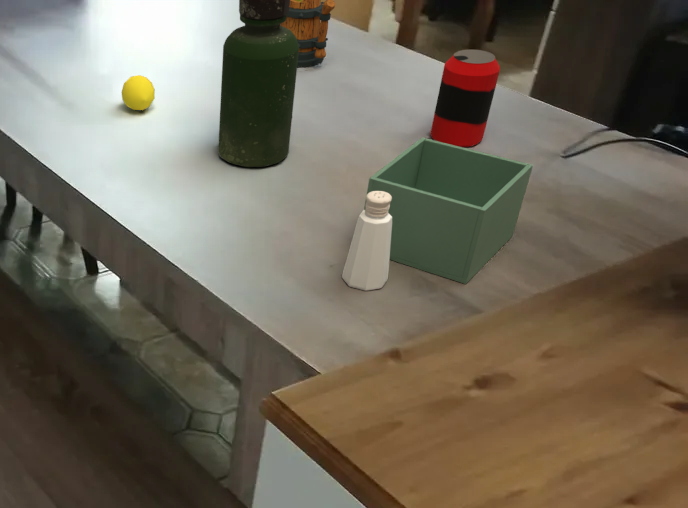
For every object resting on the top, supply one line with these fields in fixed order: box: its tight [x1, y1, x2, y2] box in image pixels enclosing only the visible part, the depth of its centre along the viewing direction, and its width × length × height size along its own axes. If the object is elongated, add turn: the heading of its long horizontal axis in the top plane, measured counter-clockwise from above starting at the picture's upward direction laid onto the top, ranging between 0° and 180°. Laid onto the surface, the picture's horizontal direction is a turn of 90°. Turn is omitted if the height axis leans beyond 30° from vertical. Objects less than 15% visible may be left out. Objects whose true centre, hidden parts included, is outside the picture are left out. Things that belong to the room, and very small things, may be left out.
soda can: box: [429, 49, 501, 148], centre depth 136 cm, size 8×8×12 cm
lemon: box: [121, 74, 156, 111], centre depth 152 cm, size 7×5×5 cm
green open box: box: [363, 136, 534, 285], centre depth 114 cm, size 14×14×10 cm
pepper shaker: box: [341, 191, 392, 292], centre depth 108 cm, size 5×5×11 cm
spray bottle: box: [217, 0, 299, 168], centre depth 131 cm, size 10×10×25 cm
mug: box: [280, 0, 336, 69], centre depth 163 cm, size 13×10×12 cm
